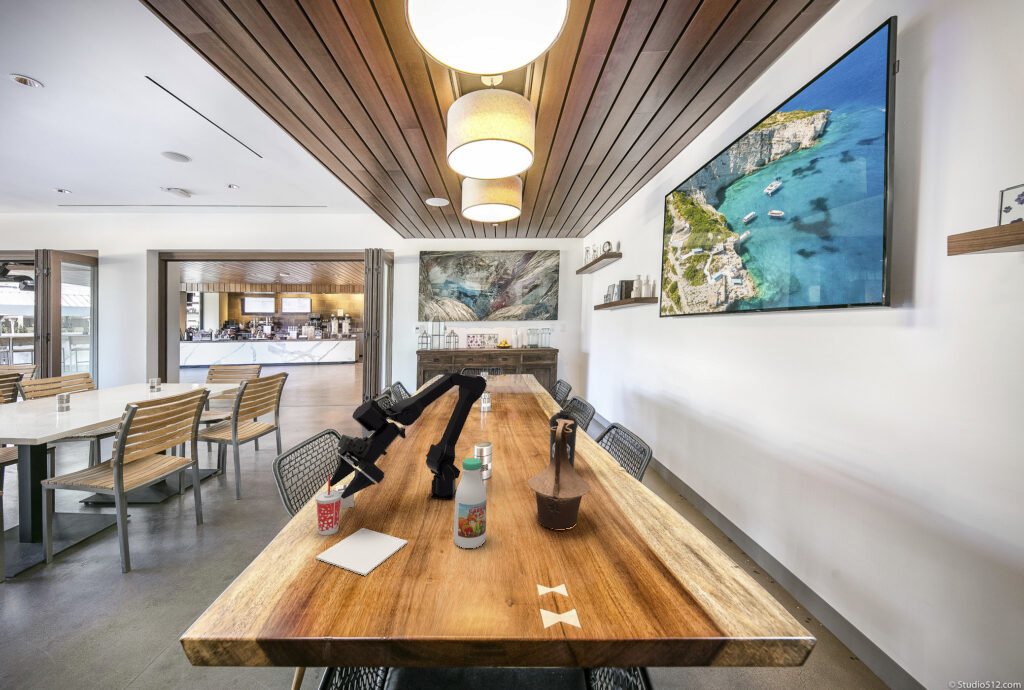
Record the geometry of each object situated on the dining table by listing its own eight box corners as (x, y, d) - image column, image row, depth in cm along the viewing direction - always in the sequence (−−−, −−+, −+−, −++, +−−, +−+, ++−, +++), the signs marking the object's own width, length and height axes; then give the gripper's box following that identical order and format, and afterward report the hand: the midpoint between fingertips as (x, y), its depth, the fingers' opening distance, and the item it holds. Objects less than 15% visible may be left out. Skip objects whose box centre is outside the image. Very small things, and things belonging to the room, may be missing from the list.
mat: (362, 530, 99) (362, 527, 99) (407, 543, 93) (407, 540, 93) (315, 559, 86) (315, 556, 86) (365, 576, 80) (365, 574, 80)
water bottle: (544, 477, 138) (547, 413, 138) (550, 467, 148) (552, 407, 147) (573, 481, 136) (576, 415, 135) (577, 471, 145) (579, 410, 144)
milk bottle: (447, 544, 94) (449, 461, 93) (465, 530, 100) (467, 453, 100) (474, 553, 90) (476, 468, 89) (491, 538, 97) (493, 458, 96)
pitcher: (588, 543, 96) (593, 431, 95) (520, 533, 99) (524, 425, 98) (588, 511, 113) (592, 415, 112) (531, 504, 117) (534, 411, 116)
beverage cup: (334, 522, 102) (335, 469, 102) (346, 530, 98) (347, 475, 98) (310, 530, 98) (311, 475, 97) (321, 539, 94) (322, 482, 93)
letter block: (353, 500, 116) (354, 483, 115) (354, 507, 111) (354, 489, 111) (335, 502, 114) (335, 485, 114) (334, 509, 109) (335, 491, 109)
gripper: (345, 416, 109) (301, 463, 102) (373, 431, 95) (324, 486, 88) (372, 440, 114) (332, 486, 107) (402, 457, 100) (358, 511, 93)
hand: (335, 491), depth 99 cm, fingers open, 9 cm apart
